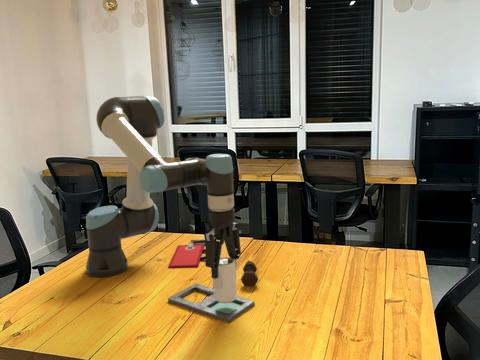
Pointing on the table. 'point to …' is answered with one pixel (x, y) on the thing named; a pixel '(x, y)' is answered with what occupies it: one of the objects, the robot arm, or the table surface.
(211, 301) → the grey flat frame
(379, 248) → the table surface
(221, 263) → the can
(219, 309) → the pad
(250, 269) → the bolt
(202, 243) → the red board with handle
